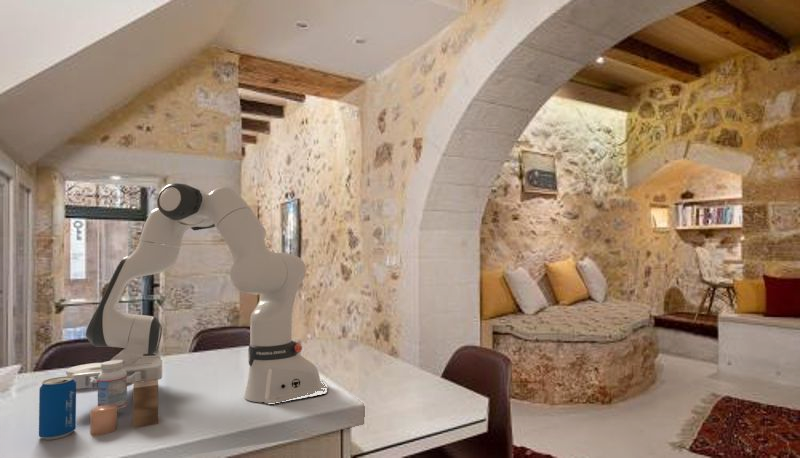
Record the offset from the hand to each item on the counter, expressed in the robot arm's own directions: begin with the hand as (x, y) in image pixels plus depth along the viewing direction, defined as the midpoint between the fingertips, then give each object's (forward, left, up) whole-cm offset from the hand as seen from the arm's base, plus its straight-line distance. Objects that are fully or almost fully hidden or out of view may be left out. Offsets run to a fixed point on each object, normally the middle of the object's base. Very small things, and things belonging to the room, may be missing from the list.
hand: (111, 382), depth 110 cm
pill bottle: (0, -1, -7) cm, 7 cm away
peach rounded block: (-1, +9, -8) cm, 12 cm away
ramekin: (+14, -35, -9) cm, 39 cm away
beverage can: (+8, +8, -9) cm, 14 cm away
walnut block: (-9, +7, -8) cm, 14 cm away
